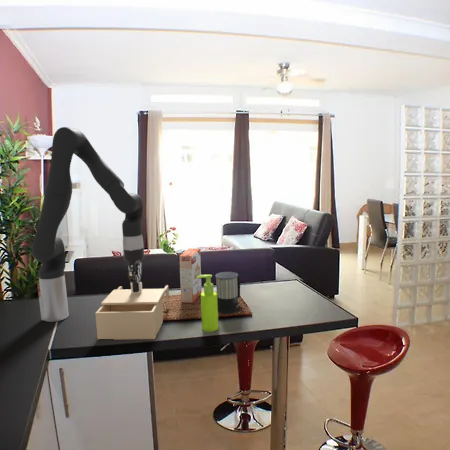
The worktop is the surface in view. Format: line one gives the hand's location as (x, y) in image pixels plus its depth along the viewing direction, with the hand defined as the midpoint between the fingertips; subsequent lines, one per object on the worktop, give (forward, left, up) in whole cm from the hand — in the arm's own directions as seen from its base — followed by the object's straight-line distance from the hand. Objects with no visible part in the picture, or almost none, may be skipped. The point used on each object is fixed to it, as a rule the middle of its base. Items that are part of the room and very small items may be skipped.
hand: (136, 290), depth 151 cm
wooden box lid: (0, -3, -2) cm, 3 cm away
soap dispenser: (+28, -9, -12) cm, 32 cm away
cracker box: (+18, +23, -12) cm, 31 cm away
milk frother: (+31, +11, -12) cm, 35 cm away
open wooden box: (0, -3, -12) cm, 12 cm away
